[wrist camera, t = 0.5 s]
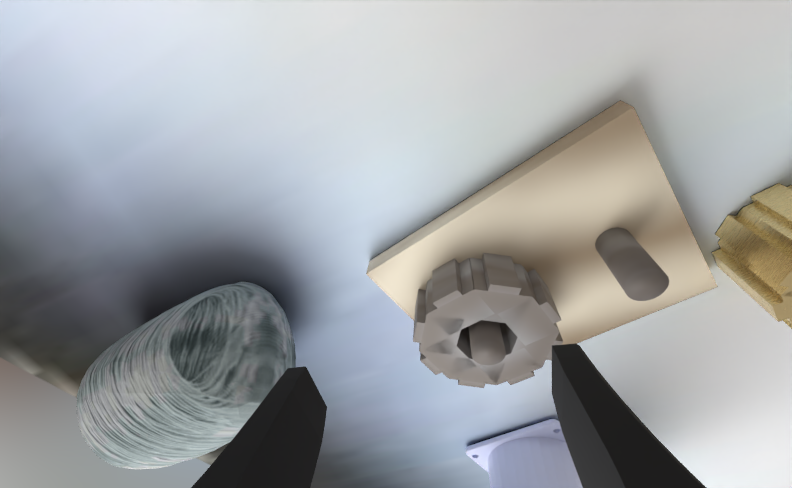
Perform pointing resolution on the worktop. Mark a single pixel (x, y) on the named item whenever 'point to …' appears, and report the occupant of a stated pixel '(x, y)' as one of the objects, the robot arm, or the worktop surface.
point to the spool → (185, 378)
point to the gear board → (546, 256)
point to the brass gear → (761, 250)
